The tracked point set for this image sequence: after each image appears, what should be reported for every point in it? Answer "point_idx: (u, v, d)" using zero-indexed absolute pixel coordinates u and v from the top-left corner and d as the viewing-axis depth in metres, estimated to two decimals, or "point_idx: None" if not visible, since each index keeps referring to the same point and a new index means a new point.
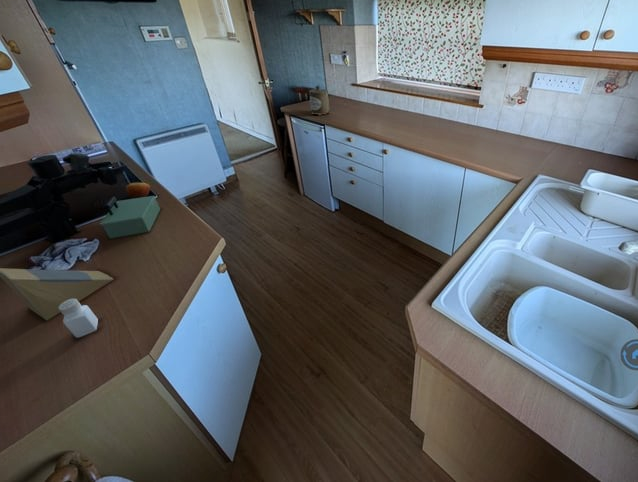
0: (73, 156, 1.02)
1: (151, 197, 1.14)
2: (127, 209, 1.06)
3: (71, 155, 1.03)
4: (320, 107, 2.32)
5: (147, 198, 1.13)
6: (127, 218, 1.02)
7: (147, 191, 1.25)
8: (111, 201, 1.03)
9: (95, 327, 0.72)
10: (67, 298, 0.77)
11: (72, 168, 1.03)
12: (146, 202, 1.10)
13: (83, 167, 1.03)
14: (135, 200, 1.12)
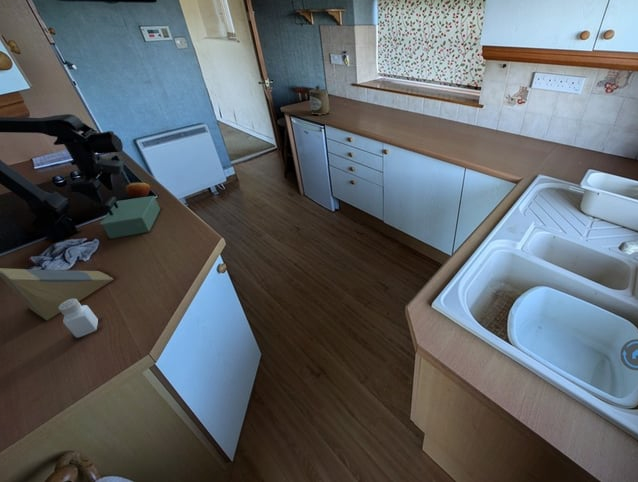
0: (119, 163, 0.99)
1: (151, 197, 1.14)
2: (127, 209, 1.06)
3: (121, 162, 1.00)
4: (320, 107, 2.32)
5: (147, 198, 1.13)
6: (127, 218, 1.02)
7: (147, 191, 1.25)
8: (111, 201, 1.03)
9: (95, 327, 0.72)
10: (67, 298, 0.77)
11: (103, 159, 0.98)
12: (146, 202, 1.10)
13: (102, 168, 0.96)
14: (135, 200, 1.12)
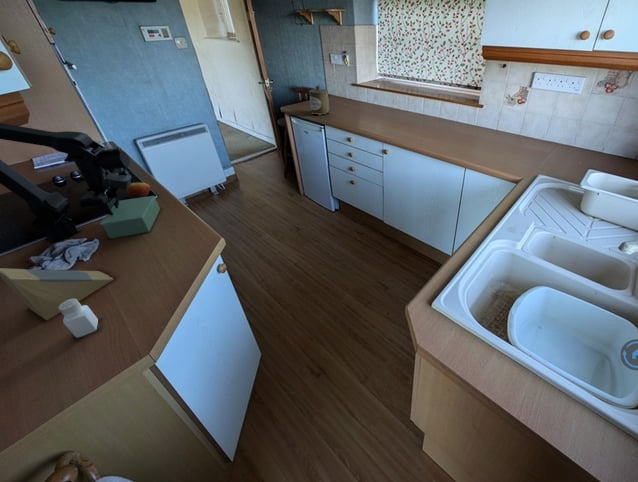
0: (126, 178, 1.02)
1: (151, 197, 1.14)
2: (127, 209, 1.06)
3: (128, 177, 1.03)
4: (320, 107, 2.32)
5: (147, 198, 1.13)
6: (127, 218, 1.02)
7: (147, 191, 1.25)
8: (111, 201, 1.03)
9: (95, 327, 0.72)
10: (67, 298, 0.77)
11: (111, 175, 1.01)
12: (146, 202, 1.10)
13: (110, 183, 0.99)
14: (135, 200, 1.12)
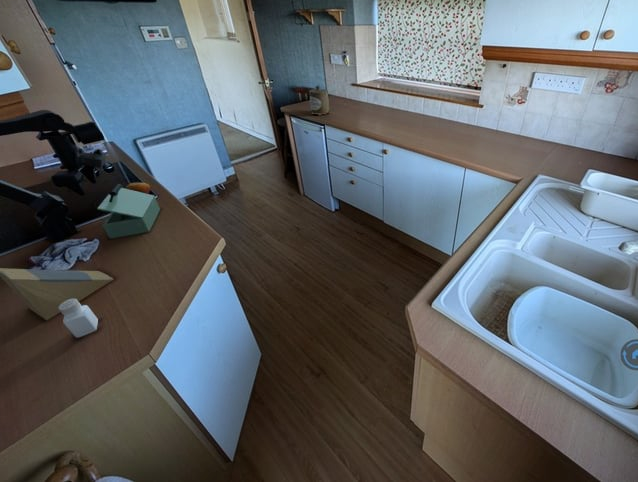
0: (101, 157, 1.02)
1: (151, 196, 1.14)
2: (127, 202, 1.05)
3: (103, 156, 1.03)
4: (320, 107, 2.32)
5: (147, 196, 1.13)
6: (127, 212, 1.01)
7: (147, 191, 1.25)
8: (118, 189, 1.02)
9: (95, 327, 0.72)
10: (67, 298, 0.77)
11: (85, 153, 1.01)
12: (147, 201, 1.10)
13: (84, 161, 0.99)
14: (135, 193, 1.11)
